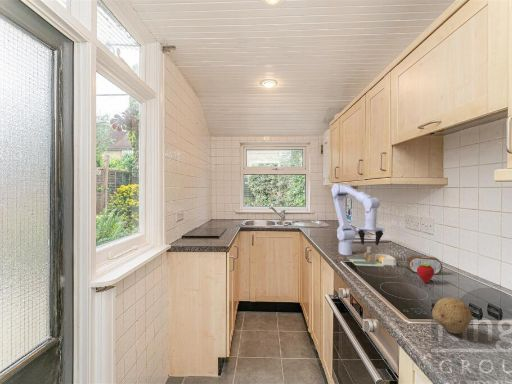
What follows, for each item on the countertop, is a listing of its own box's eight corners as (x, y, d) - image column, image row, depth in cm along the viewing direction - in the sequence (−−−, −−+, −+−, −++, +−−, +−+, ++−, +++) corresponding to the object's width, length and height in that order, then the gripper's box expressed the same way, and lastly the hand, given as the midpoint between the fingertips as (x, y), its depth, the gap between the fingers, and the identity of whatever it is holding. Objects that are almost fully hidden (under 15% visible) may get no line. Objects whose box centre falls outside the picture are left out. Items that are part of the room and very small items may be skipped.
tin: (440, 274, 135) (441, 257, 135) (442, 276, 132) (443, 258, 132) (406, 270, 139) (407, 254, 139) (408, 272, 136) (408, 255, 136)
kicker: (363, 259, 154) (364, 244, 153) (368, 259, 153) (368, 245, 153) (369, 263, 146) (369, 248, 145) (373, 263, 145) (374, 248, 145)
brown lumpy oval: (438, 338, 75) (440, 302, 75) (426, 322, 84) (428, 290, 84) (477, 343, 73) (478, 306, 73) (460, 327, 82) (461, 294, 82)
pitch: (346, 259, 158) (346, 251, 158) (385, 260, 157) (385, 253, 157) (355, 267, 142) (355, 258, 142) (398, 269, 141) (399, 260, 141)
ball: (384, 263, 151) (376, 262, 151) (385, 256, 151) (378, 255, 151) (387, 265, 147) (379, 264, 147) (388, 258, 147) (381, 257, 147)
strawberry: (412, 281, 123) (413, 259, 123) (425, 280, 125) (426, 258, 125) (424, 286, 117) (425, 262, 117) (437, 284, 119) (438, 261, 119)
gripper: (359, 220, 147) (358, 245, 147) (387, 221, 146) (386, 246, 146) (355, 218, 154) (354, 242, 154) (382, 219, 153) (380, 243, 153)
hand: (369, 244), depth 150 cm, fingers open, 7 cm apart
